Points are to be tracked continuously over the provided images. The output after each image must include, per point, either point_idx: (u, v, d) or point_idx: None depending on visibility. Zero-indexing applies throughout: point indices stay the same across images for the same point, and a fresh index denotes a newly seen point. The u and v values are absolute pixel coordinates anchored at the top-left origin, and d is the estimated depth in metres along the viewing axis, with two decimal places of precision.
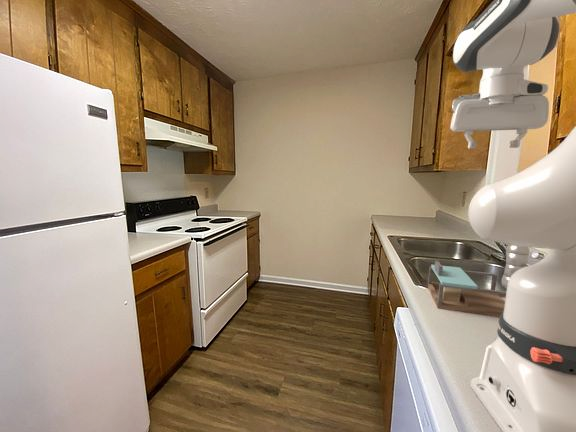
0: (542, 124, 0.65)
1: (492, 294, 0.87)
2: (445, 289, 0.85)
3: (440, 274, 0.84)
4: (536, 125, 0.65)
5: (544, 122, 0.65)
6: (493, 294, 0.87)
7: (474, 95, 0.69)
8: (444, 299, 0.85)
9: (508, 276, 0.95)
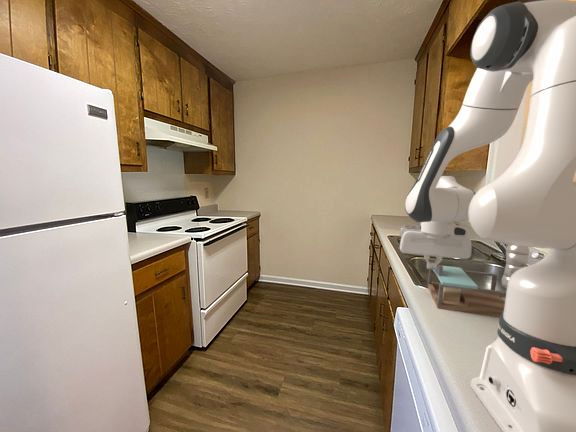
0: (467, 257, 0.82)
1: (492, 294, 0.87)
2: (445, 289, 0.85)
3: (440, 274, 0.84)
4: (463, 257, 0.82)
5: (468, 256, 0.82)
6: (493, 294, 0.87)
7: (416, 227, 0.86)
8: (444, 299, 0.85)
9: (508, 276, 0.95)
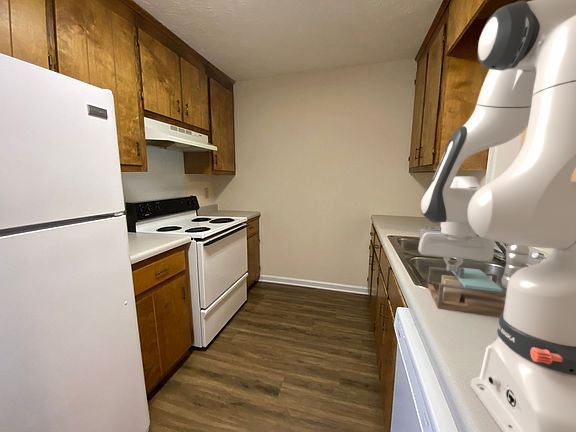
0: (489, 259, 0.80)
1: (492, 294, 0.87)
2: (445, 289, 0.85)
3: (461, 276, 0.82)
4: (485, 259, 0.80)
5: (491, 258, 0.80)
6: (493, 294, 0.87)
7: (436, 228, 0.84)
8: (444, 299, 0.85)
9: (508, 276, 0.95)
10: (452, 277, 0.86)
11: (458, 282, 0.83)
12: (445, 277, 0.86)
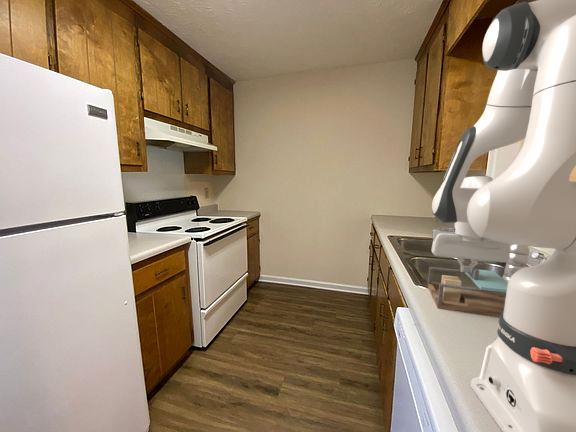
0: (505, 261, 0.79)
1: (492, 294, 0.87)
2: (445, 289, 0.85)
3: (476, 278, 0.81)
4: (500, 261, 0.79)
5: (506, 259, 0.79)
6: (493, 294, 0.87)
7: (450, 229, 0.83)
8: (444, 299, 0.85)
9: (508, 276, 0.95)
10: (452, 277, 0.86)
11: (458, 282, 0.83)
12: (445, 277, 0.86)
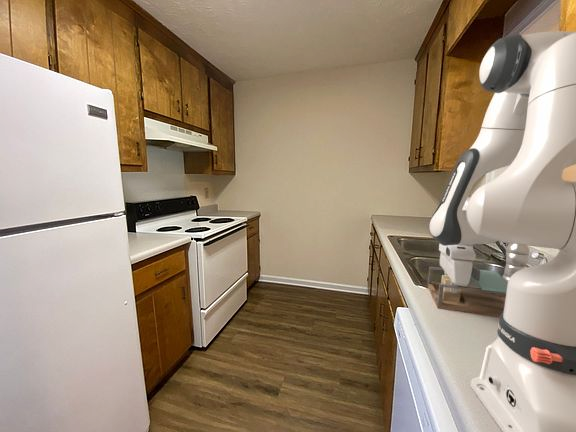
0: (453, 282, 0.77)
1: (492, 294, 0.87)
2: (445, 289, 0.85)
3: (477, 278, 0.81)
4: (452, 281, 0.79)
5: (453, 281, 0.77)
6: (493, 294, 0.87)
7: None
8: (444, 299, 0.85)
9: (508, 276, 0.95)
10: None
11: None
12: (445, 277, 0.86)
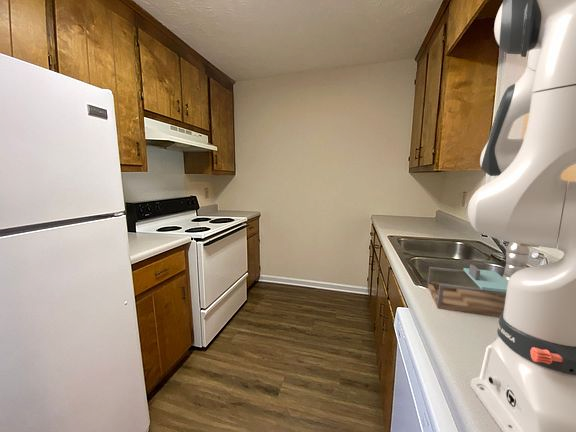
0: None
1: (492, 294, 0.87)
2: None
3: (477, 278, 0.81)
4: None
5: None
6: (493, 294, 0.87)
7: None
8: (521, 244, 0.78)
9: (508, 276, 0.95)
10: None
11: None
12: None
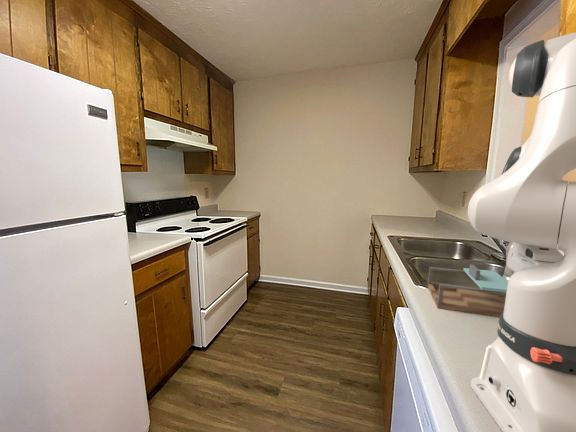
0: None
1: (492, 294, 0.87)
2: None
3: (477, 278, 0.81)
4: None
5: None
6: (493, 294, 0.87)
7: None
8: None
9: (508, 276, 0.95)
10: None
11: None
12: None
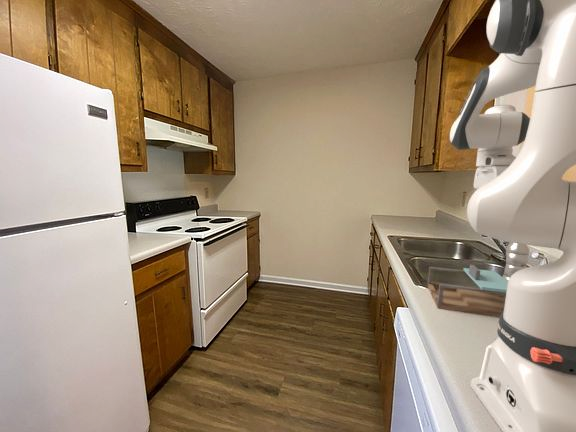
0: None
1: (492, 294, 0.87)
2: None
3: (477, 278, 0.81)
4: None
5: None
6: (493, 294, 0.87)
7: None
8: None
9: (508, 276, 0.95)
10: None
11: None
12: None
